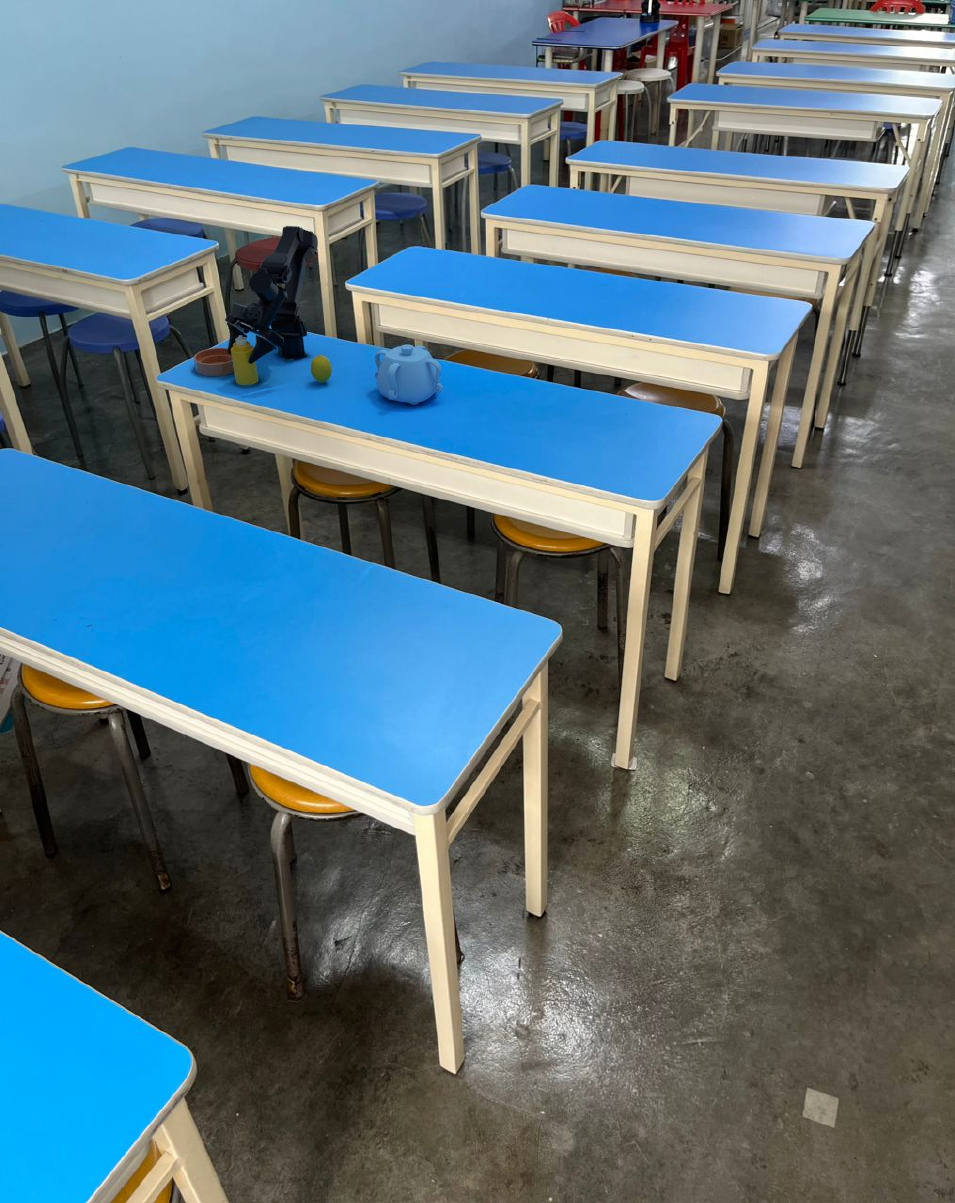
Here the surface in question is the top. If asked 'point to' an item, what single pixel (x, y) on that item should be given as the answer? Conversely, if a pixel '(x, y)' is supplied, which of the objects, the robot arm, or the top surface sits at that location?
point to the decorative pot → (407, 374)
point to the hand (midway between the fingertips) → (239, 358)
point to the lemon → (321, 368)
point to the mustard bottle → (243, 362)
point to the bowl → (214, 362)
